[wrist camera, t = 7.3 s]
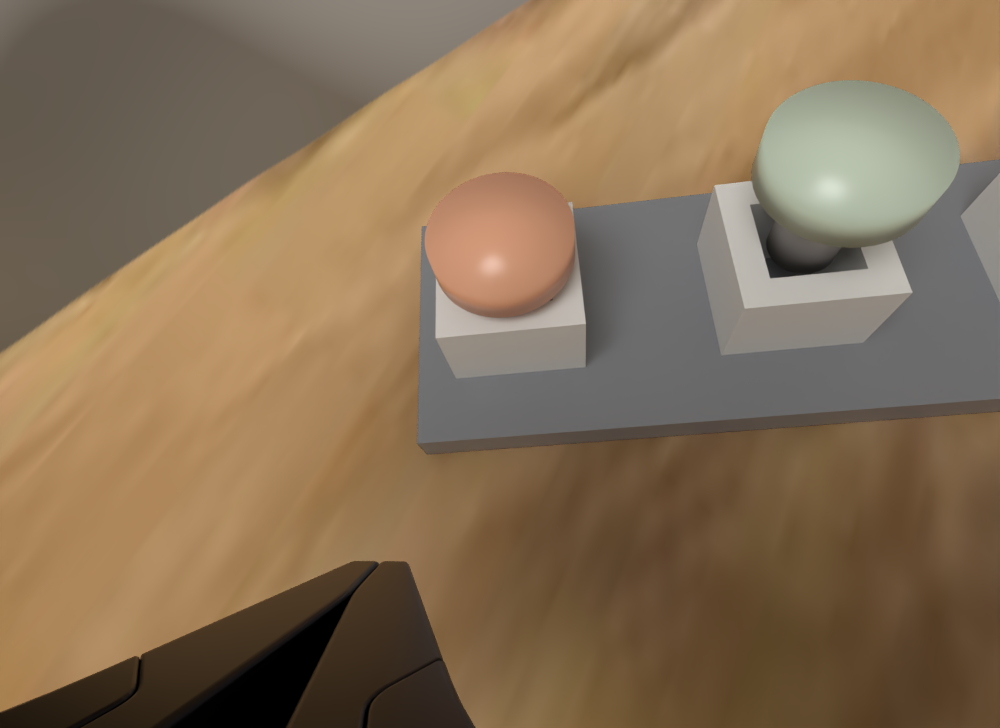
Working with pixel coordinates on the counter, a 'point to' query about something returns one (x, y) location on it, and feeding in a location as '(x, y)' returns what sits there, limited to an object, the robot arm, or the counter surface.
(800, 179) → the sage button
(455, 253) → the terracotta button
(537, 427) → the console
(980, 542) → the counter surface
